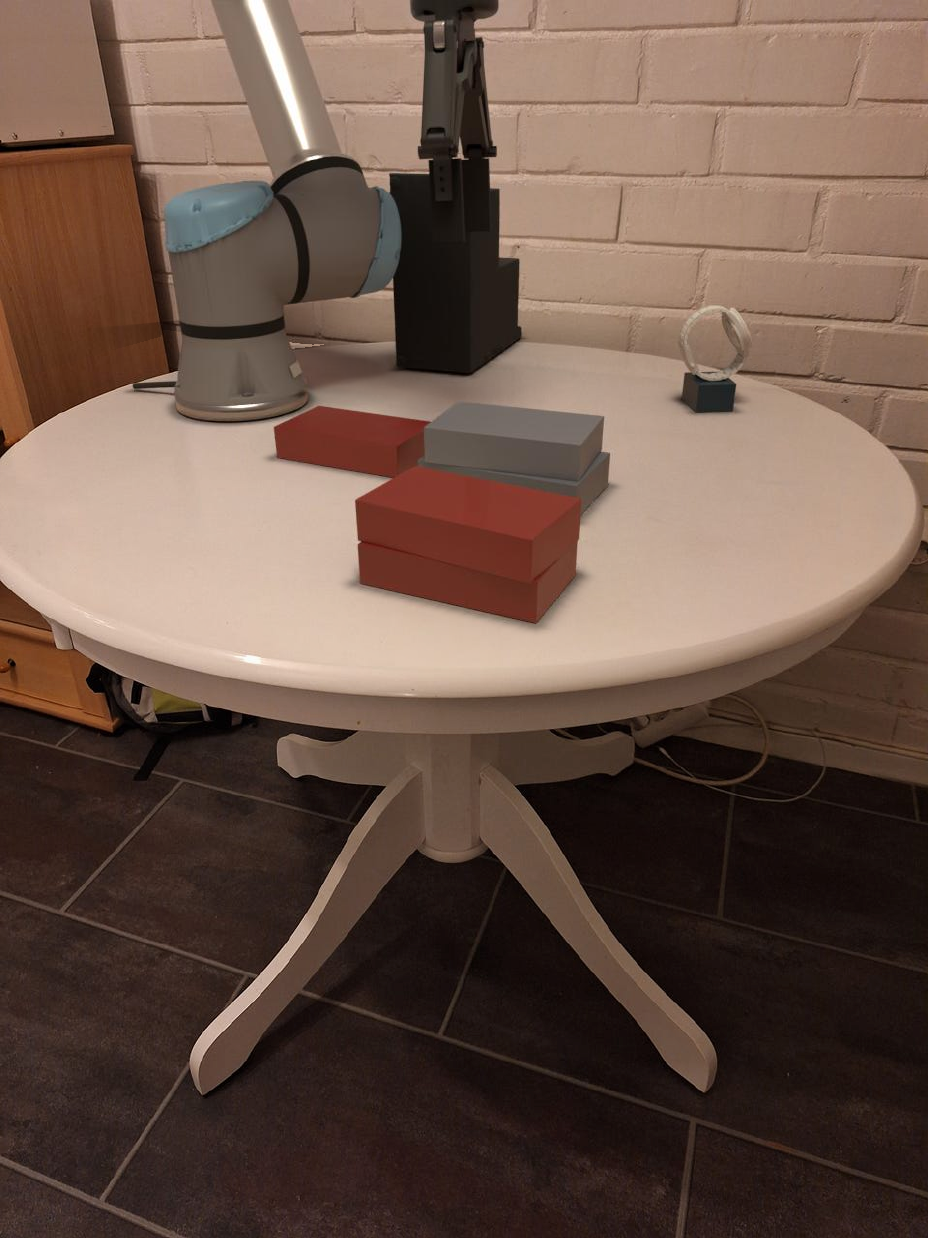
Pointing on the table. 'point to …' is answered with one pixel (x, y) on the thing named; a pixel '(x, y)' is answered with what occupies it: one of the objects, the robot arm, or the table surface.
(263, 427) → the table surface
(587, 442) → the grey book top
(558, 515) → the red stack top
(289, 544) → the table surface
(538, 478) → the grey book low
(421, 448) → the red book
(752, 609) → the table surface
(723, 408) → the ring sculpture
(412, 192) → the bookend
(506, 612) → the red stack low
